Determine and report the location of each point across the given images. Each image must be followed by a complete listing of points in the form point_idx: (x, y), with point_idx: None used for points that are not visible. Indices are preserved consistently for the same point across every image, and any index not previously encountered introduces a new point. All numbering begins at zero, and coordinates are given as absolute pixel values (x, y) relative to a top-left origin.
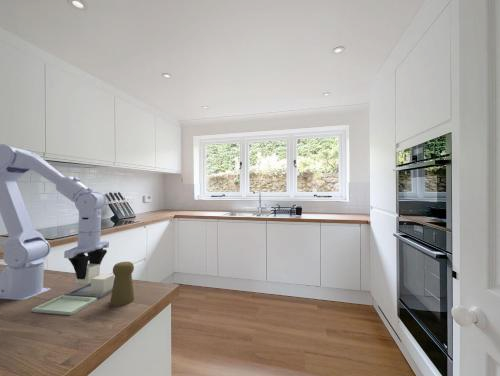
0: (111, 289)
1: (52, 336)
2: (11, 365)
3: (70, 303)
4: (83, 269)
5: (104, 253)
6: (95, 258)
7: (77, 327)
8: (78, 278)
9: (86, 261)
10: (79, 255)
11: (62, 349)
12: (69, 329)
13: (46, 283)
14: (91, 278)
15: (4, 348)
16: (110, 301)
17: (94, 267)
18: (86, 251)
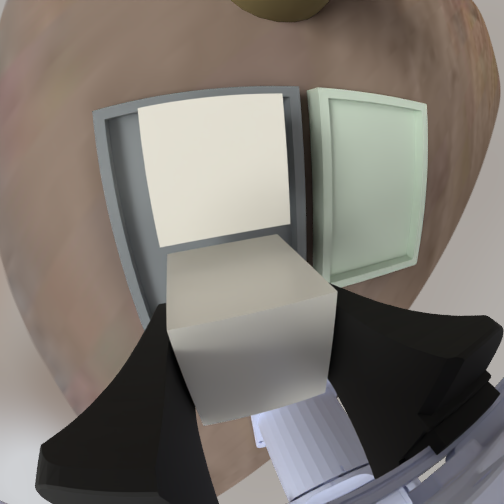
0: (189, 97)
1: (463, 83)
2: (498, 92)
3: (358, 191)
4: (368, 301)
5: (86, 445)
6: (184, 432)
7: (435, 46)
8: None
9: (422, 330)
10: (482, 396)
11: (470, 36)
12: (444, 62)
13: (206, 445)
14: (285, 224)
15: (487, 148)
16: (317, 10)
17: (252, 302)
18: (394, 489)
